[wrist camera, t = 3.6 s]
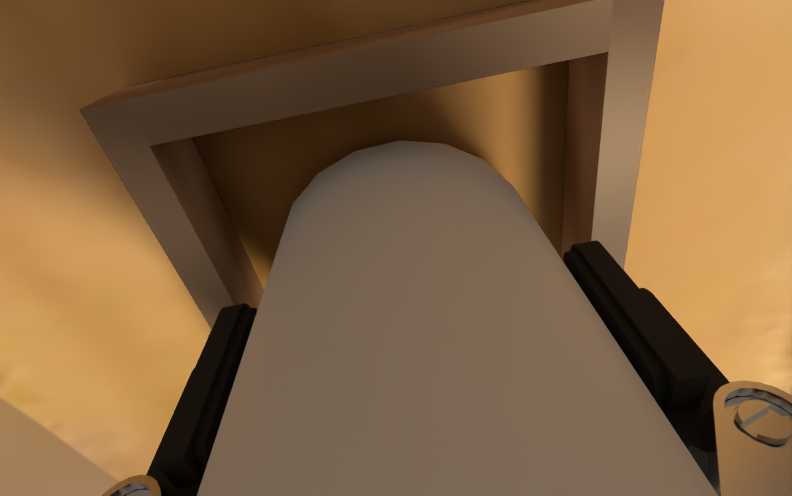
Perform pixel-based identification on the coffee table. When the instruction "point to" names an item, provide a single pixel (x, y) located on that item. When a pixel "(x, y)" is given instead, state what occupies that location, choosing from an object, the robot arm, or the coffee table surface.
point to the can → (433, 352)
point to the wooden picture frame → (379, 78)
